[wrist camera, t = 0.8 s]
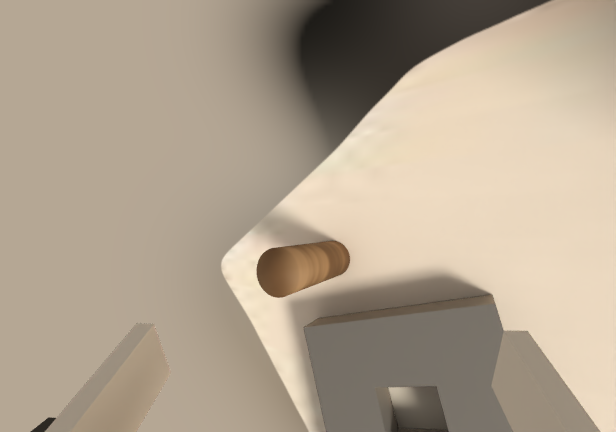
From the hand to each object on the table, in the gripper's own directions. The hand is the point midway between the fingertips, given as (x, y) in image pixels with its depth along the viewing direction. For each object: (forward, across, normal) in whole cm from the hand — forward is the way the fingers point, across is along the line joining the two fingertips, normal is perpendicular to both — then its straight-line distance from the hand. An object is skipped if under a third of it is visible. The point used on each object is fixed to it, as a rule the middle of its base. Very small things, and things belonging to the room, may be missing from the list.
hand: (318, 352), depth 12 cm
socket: (+15, +8, -23) cm, 29 cm away
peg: (+25, -1, -11) cm, 27 cm away
